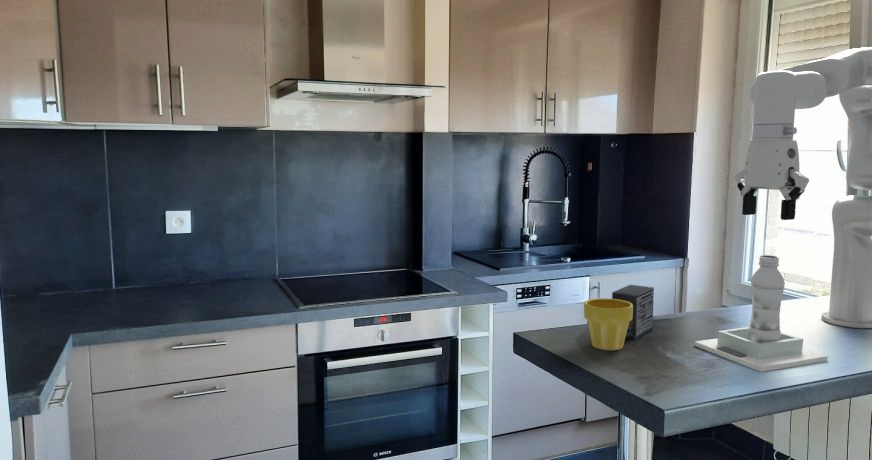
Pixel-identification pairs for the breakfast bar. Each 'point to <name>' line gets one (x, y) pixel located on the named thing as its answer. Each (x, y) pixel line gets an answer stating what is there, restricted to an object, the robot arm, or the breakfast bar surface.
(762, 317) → the metal bottle
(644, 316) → the small box
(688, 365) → the breakfast bar surface
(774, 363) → the charging dock
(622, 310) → the plant pot
